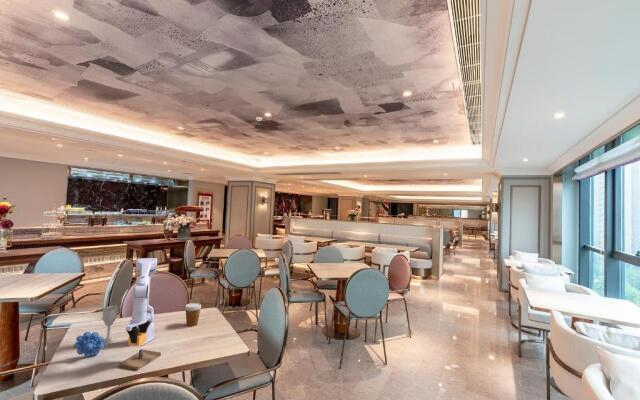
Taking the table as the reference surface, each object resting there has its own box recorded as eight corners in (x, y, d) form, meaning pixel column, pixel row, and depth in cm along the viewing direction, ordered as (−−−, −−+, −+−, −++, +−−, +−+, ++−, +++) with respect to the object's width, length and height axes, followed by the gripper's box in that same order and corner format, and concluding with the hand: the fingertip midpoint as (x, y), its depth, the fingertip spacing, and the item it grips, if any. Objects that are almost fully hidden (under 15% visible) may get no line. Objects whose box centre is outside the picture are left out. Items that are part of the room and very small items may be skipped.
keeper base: (143, 352, 147) (143, 341, 147) (160, 355, 145) (161, 344, 145) (118, 367, 134) (119, 354, 134) (137, 370, 132) (138, 358, 132)
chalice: (107, 346, 152) (109, 311, 152) (96, 344, 153) (98, 309, 154) (119, 340, 159) (121, 306, 160) (108, 338, 160) (111, 305, 161)
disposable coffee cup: (184, 322, 187) (185, 303, 188) (201, 321, 190) (202, 302, 191) (182, 328, 178) (183, 308, 179) (199, 327, 181) (200, 307, 182)
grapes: (71, 364, 134) (73, 337, 135) (73, 357, 140) (74, 331, 140) (103, 357, 141) (105, 331, 141) (103, 351, 147) (105, 327, 147)
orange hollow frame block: (136, 340, 143) (136, 332, 143) (146, 341, 143) (146, 332, 143) (128, 345, 138) (128, 336, 138) (138, 346, 137) (139, 337, 138)
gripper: (142, 305, 148) (140, 333, 148) (120, 315, 134) (118, 346, 133) (155, 306, 148) (153, 334, 147) (135, 317, 133) (133, 347, 133)
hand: (137, 340), depth 140 cm, fingers closed on orange hollow frame block, 5 cm apart
